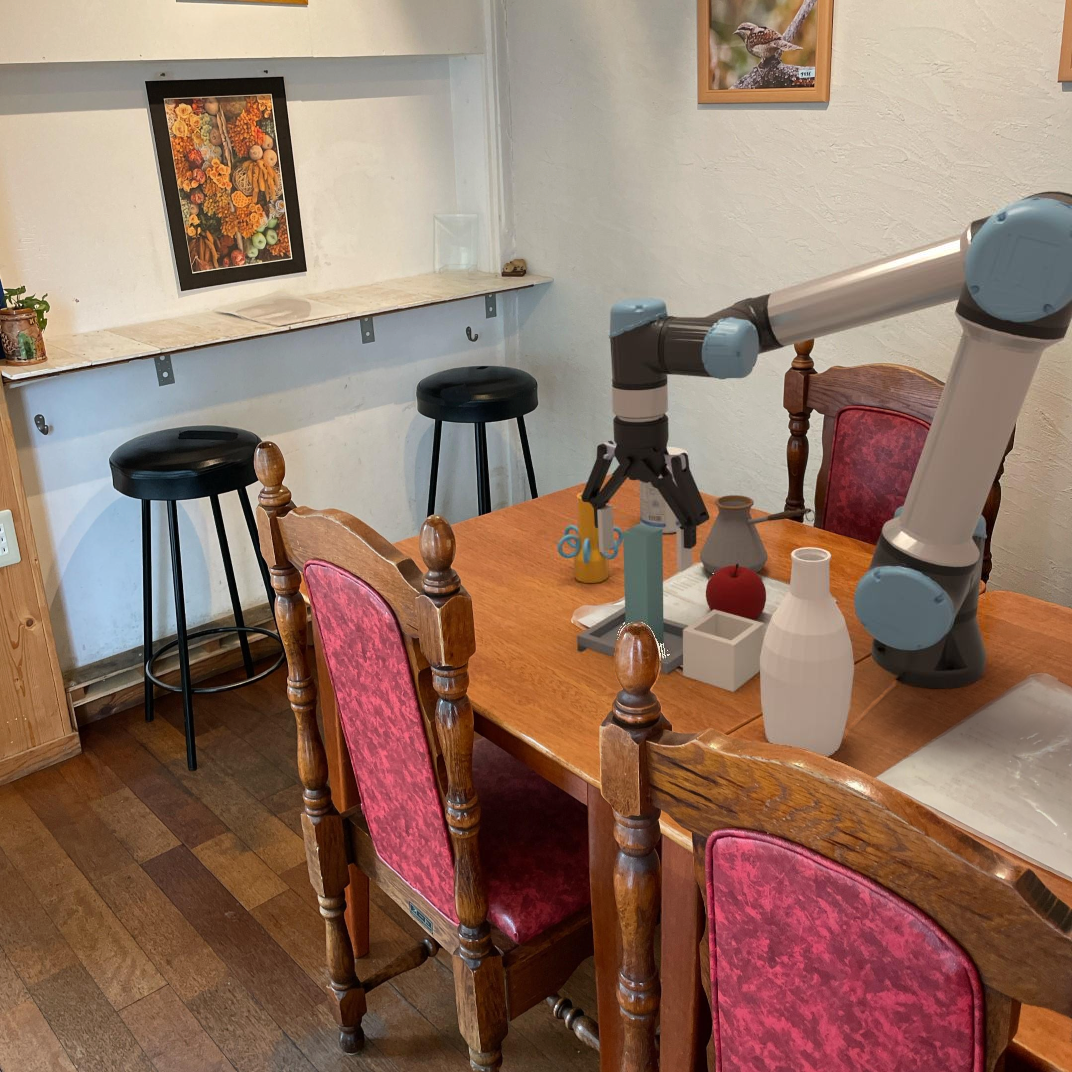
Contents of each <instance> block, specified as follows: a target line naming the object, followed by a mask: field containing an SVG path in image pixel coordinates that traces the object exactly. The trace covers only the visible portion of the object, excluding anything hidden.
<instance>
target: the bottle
mask: <svg viewBox="0 0 1072 1072" xmlns="http://www.w3.org/2000/svg"><path fill="white" fill-rule="evenodd" d="M790 558H791V560H792V561H791V571H790V581H789V582H790V583H789V591H788V592H787V594H786V595H785V597H784V598H783V600H782V601H781V602H780V604H779V605H778V607H777V608H776V610H775V611H774V613H773V614H772V616H771V618H770V621H769V623H768V627H767V629H766V631H765V633H764V640H763V645H762V650H761V655H760V671H759V673H760V675H759V677H760V678H759V679H760V680H759V681H760V702H761V704H760V706H761V711H762V719H763V725H764V731H765V738H766V740H767V741H768V743H769V744H770V743H773V744H779V745H787V746H792V747H798V748H802V749H806V750H809V751H812V752H815V753H818V754H821V755H824V756H827V758H829V757H831V756H832V755H834V754H835V753H836V752H837V751H838V750H839V749H840V747H841V745H842V742H843V737H844V734H845V731H846V730H845V729H846V724H847V722H848V721H847V720H848V717H849V712H850V707H851V701H852V700H851V699H852V691H853V681H854V674H855V673H854V672H855V662H854V653H853V652H854V651H853V643H852V641H851V637H850V633H849V629H848V627H847V623H846V619H845V616H844V615H843V613H842V611H841V610H840V608H839V606H838V604H837V602H836V601H835V599H834V597H833V596H832V593H831V591H830V589H831V587H830V561H831V560H832V555H831V553H830V552H829V551H828V550H825V549H824V548H819V547H814V546H812V547H809V546H806V547H805V546H804V547H800V548H796V549H794V550H792V552H791V553H790ZM835 751H836V752H835ZM830 755H831V756H830Z"/></svg>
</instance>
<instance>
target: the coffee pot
mask: <svg viewBox="0 0 1072 1072" xmlns="http://www.w3.org/2000/svg"><path fill="white" fill-rule="evenodd" d="M714 501H715V502H714V504H715V506H716V507H717V510H718V513H717V516H716V518H715V520H714V523H713V524H712V527H711V528H710V531H709V533H708V535H707V538H706V540H705V542H704V544H703V546H702V548H701V550H700V554H699V558H700V560H701V563H702V565H703V566H704V567H705V569H707V571H709V572H710V573H711V572H712V573H714V574H715V573H716V572H717V571H718V570H720V569H722V568H724V567H727V566H733V565H734V566H736V564H738V565H739V567H745V568H748V569H750V570H752V571H754V572H756V573H757V574H758V572H759V571H760V570H762V569H763V568H764V567H765V565H766V564H767V561H768V552H767V551H766V548H765V545H764V543H763V541H762V539H761V537H760V533H759V531H758V529H757V527H756V524H759V523H763V522H769V521H770V522H771V521H778V520H786V519H790V518H793V517H796V516H797V517H801V516H802V515H805V519H806V521H808V522H813V521H814V520H815V519H816V512H815V511H814V510H813V509H811V508H803V509H801V508H797V509H796V510H784V511H780V512H777V513H773V514H769V515H767V516H762V517H761V516H760V517H755V518H754V517H753V518H752V515H751V513H750V511H751V509H752V508H751V507H752V506H754V503H755V501H754V499H752V498H751V497H749V496H746V495H739V494H738V495H736V494H735V495H734V494H731V495H724V496H721V497H718V498H716V499H715V500H714ZM811 512H812V513H813V519H812V520H810V519H808V515H807V514H809V513H811ZM712 573H711V574H712Z"/></svg>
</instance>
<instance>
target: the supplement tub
mask: <svg viewBox="0 0 1072 1072" xmlns="http://www.w3.org/2000/svg"><path fill="white" fill-rule="evenodd" d="M667 451H668V453H669V455H679V454H681V453H686V454H687V455H688V456H689V453H688V451H686V450H685V449H683V448H681V447H673V446H667ZM688 460H690V459H689V458H688ZM666 467H667V468H668V470H669V465H667V466H666ZM669 471H670V473H671V474H672V476H673V473H672V470H669ZM658 478H659V479H661V478H663V477H662V476H661V475H660V476H659V477H658ZM673 481H674V483H675V484H676V482H675V480H674V477H673ZM638 485H639V486H638V489H639V491H638V492H639V494H638V495H639V512H640V513H639V515H640V516H639V517H640V524H644V525H649V526H653V527H657V528H662V534H674V533H676V527H677V526H679V525H681V523H680V522H679V520H678V519H677V517H676V516H675V514H674V513H673V511H672V510H671V508H670V507H669V505H668V504H667V503H666V501H665V500H664V498H663V497H662V495H661V494H660V492H659V491H658V489H657V488H654V487H653V486H652V484H651V483H650V482H648V483H645V482H642V481H639V480H638ZM676 486H677V484H676Z"/></svg>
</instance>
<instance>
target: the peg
mask: <svg viewBox="0 0 1072 1072" xmlns="http://www.w3.org/2000/svg"><path fill="white" fill-rule="evenodd" d="M622 533H623V541H622V544H623V548H622V549H623V577H624V580H623V582H624V586H623V587H624V607H625V625H627V624H628V623H631V622H643V623H645V624H646V625H648V626H649V627H650V628H651V630H652V631H653V633H654V635H655V638H656V639H657V641H658V643H659V644H660V643H662V642H664V626H663V618H664V558H663V556H664V555H663V553H664V552H663V549H664V548H663V547H664V546H663V545H664V544H663V533H662V528H657V527H653V526H649V525H644V524H641V522H640V523H638V524H636V525H634V526H631V527H630V528H628V529H626V530H624V531H622Z"/></svg>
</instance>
